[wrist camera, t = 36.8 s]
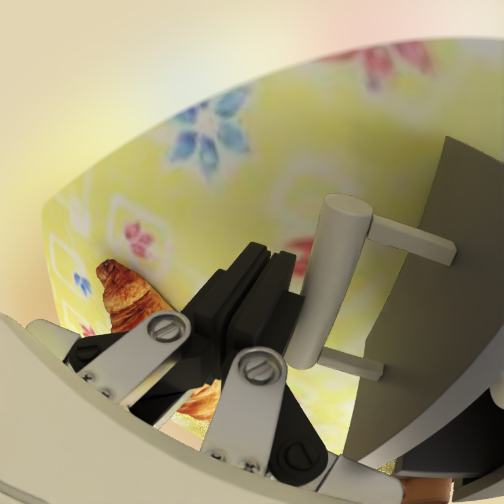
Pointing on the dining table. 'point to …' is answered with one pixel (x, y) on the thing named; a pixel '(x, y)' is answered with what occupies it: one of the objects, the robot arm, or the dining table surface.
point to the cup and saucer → (425, 489)
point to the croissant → (139, 308)
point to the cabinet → (479, 487)
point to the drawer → (420, 323)
